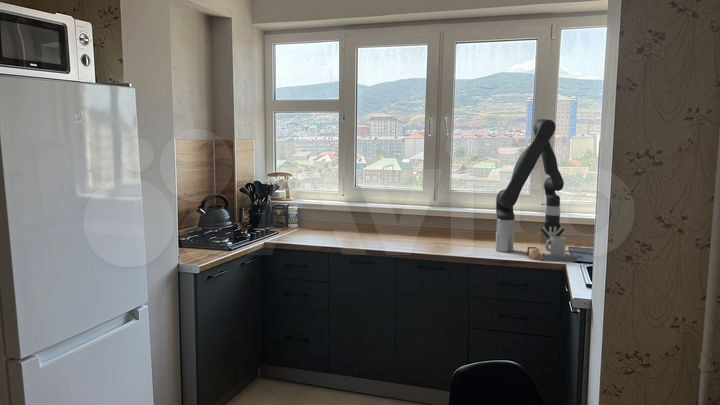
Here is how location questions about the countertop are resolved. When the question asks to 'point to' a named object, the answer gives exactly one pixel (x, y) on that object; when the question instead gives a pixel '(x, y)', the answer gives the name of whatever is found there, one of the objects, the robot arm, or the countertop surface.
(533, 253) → the tan rounded lump
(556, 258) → the stand
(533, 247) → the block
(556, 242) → the cup
